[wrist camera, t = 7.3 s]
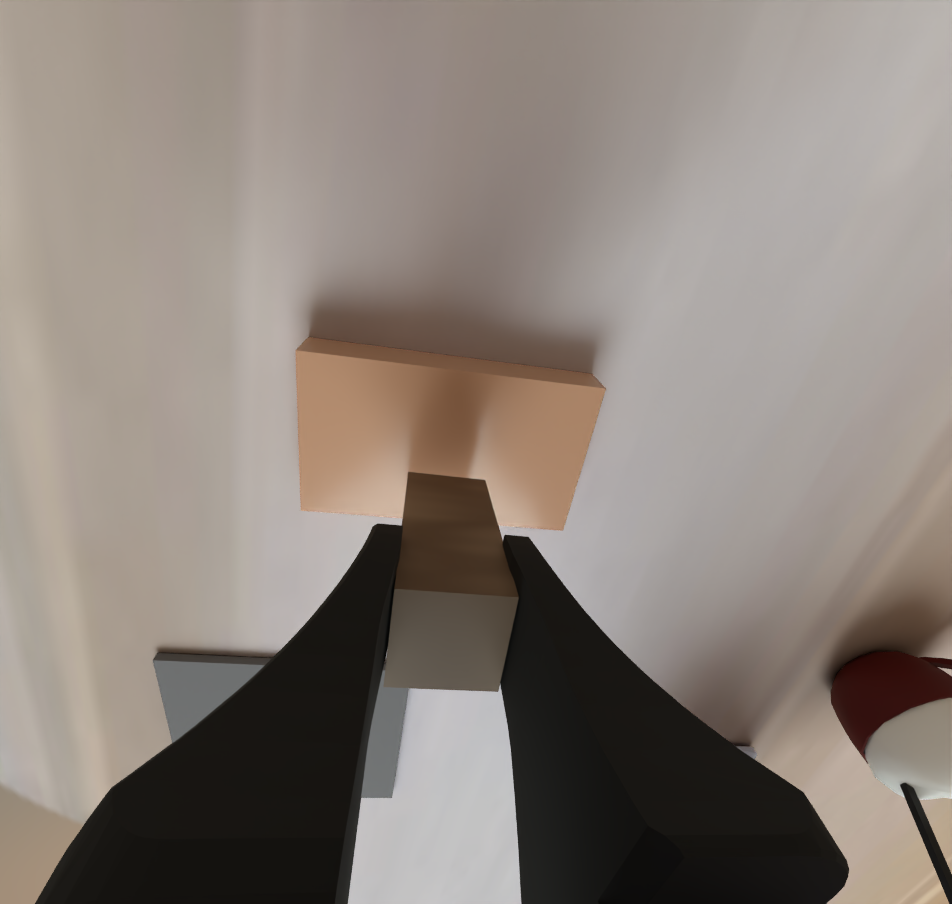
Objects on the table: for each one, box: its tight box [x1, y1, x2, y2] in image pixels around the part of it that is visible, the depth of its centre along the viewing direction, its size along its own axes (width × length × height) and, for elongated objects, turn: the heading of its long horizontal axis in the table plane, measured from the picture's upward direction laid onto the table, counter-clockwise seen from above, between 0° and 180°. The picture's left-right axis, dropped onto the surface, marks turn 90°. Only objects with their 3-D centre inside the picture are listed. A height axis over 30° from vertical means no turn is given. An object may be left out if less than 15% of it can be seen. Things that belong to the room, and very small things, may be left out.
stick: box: [383, 472, 519, 692], centre depth 12 cm, size 2×2×6 cm
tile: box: [296, 337, 606, 531], centre depth 17 cm, size 10×2×6 cm
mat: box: [153, 653, 408, 798], centre depth 25 cm, size 12×12×1 cm
